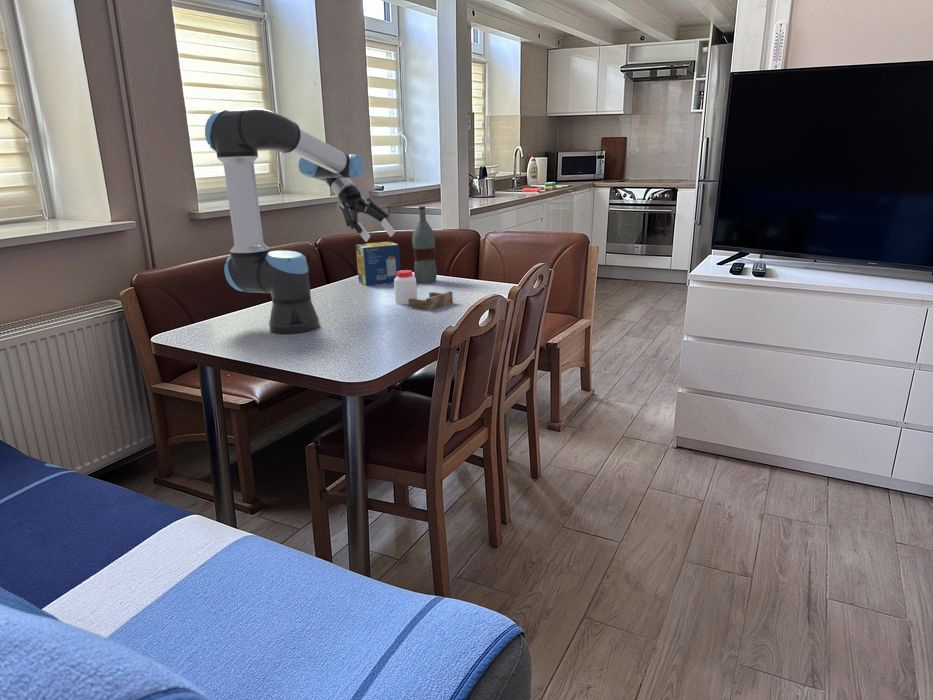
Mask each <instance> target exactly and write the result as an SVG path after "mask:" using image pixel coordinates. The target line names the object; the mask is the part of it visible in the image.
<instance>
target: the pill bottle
mask: <svg viewBox="0 0 933 700" xmlns="http://www.w3.org/2000/svg"><path fill="white" fill-rule="evenodd" d="M393 285H394V287H393V288H394V296H395V297H394V298H395V303H398V304H397V305H402V304H406V305H409V299H418V290H417V283H416V278H415V275H413V270H409V269H405V270H404V269H402V270H401V269H400V271H397V276H396V277H395V279H394V283H393Z"/></svg>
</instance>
